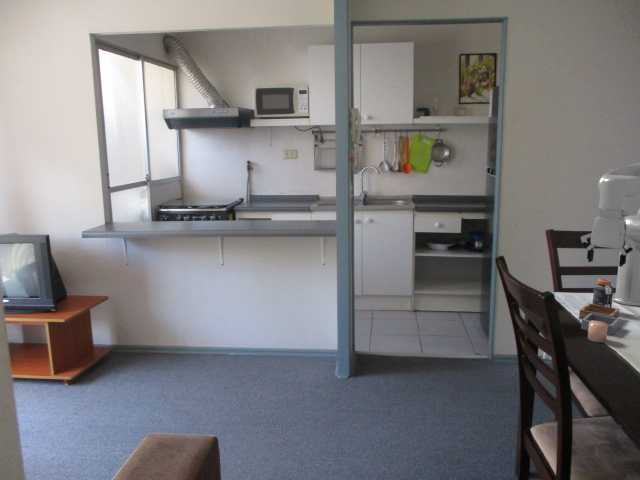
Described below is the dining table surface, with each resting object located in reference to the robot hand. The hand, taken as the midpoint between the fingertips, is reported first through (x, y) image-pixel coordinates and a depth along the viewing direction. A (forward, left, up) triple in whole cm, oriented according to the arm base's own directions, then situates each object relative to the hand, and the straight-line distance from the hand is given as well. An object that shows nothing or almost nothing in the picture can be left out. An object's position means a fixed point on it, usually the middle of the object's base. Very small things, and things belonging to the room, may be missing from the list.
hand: (605, 263), depth 185 cm
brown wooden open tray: (+9, +2, -17) cm, 19 cm away
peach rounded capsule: (+29, +7, -17) cm, 34 cm away
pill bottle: (0, 0, -17) cm, 17 cm away
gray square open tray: (+18, +5, -17) cm, 25 cm away
